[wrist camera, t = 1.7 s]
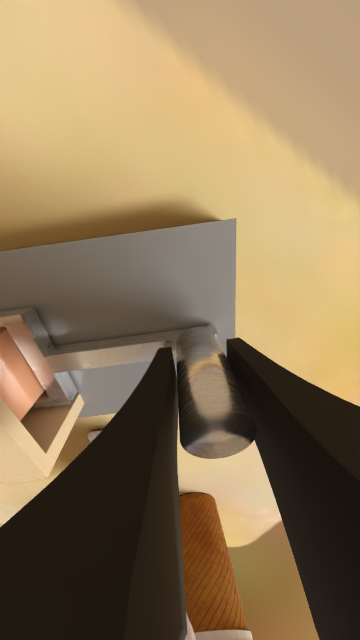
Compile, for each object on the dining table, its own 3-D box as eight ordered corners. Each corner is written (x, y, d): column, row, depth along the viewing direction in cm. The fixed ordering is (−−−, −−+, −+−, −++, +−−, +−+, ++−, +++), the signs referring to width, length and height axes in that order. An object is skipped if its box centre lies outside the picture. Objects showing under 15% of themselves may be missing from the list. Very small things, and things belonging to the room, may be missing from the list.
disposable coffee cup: (147, 505, 27) (131, 693, 16) (195, 479, 24) (216, 683, 13) (192, 521, 30) (204, 686, 19) (238, 499, 27) (284, 676, 16)
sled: (212, 282, 10) (265, 348, 4) (216, 373, 12) (251, 482, 7) (-116, 327, 10) (-459, 443, 4) (-40, 406, 13) (-195, 537, 7)
